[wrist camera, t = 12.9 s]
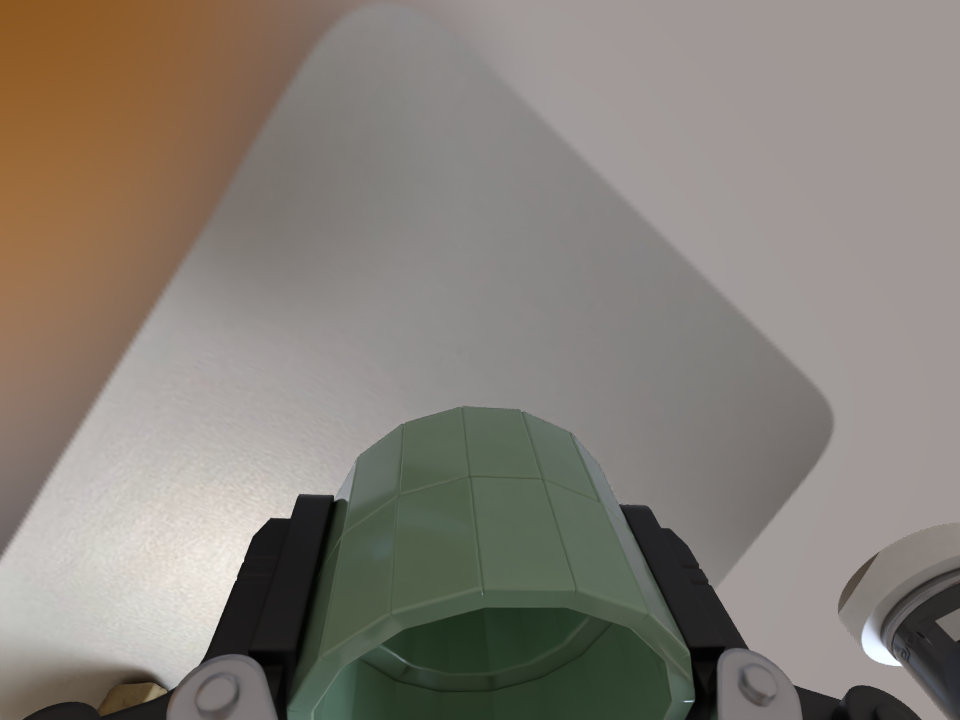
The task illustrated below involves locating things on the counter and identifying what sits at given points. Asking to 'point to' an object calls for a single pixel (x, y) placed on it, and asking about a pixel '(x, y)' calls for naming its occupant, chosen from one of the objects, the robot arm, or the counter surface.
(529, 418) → the bowl
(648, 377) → the counter surface
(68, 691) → the counter surface
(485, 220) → the counter surface
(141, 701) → the rock
